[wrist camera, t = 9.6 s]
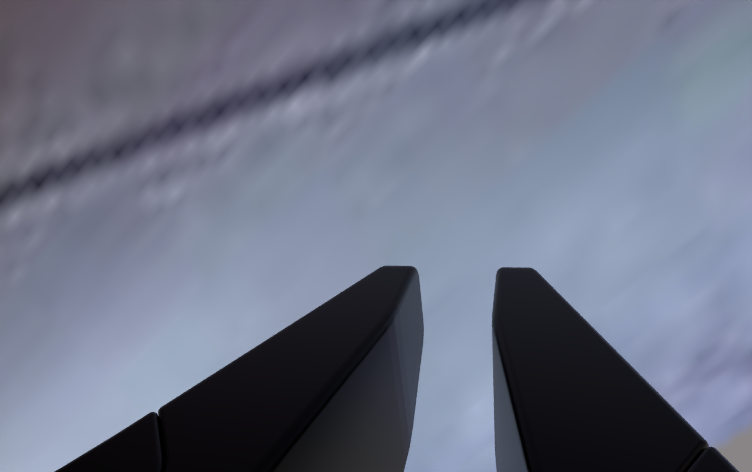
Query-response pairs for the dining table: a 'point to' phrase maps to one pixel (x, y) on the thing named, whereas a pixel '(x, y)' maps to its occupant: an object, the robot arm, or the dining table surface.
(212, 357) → the dining table surface
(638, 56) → the dining table surface
